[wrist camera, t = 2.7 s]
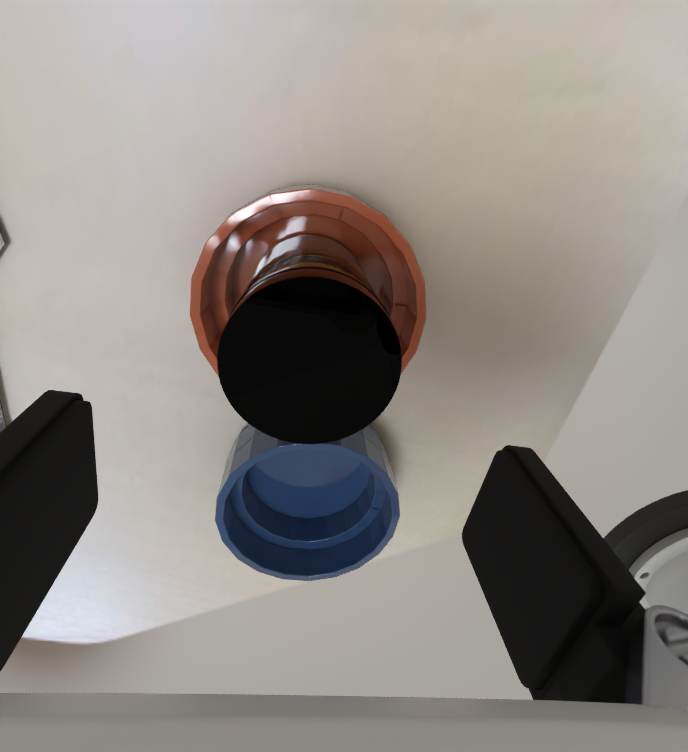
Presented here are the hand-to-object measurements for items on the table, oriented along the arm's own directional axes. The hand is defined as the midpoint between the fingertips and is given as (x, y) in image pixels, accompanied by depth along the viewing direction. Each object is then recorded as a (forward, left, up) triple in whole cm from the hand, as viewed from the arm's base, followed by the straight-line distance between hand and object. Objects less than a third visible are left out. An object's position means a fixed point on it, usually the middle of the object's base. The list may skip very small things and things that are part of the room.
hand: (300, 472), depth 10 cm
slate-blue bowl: (-2, +13, -17) cm, 22 cm away
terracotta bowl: (0, 0, -17) cm, 17 cm away
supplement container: (0, 0, -17) cm, 17 cm away
